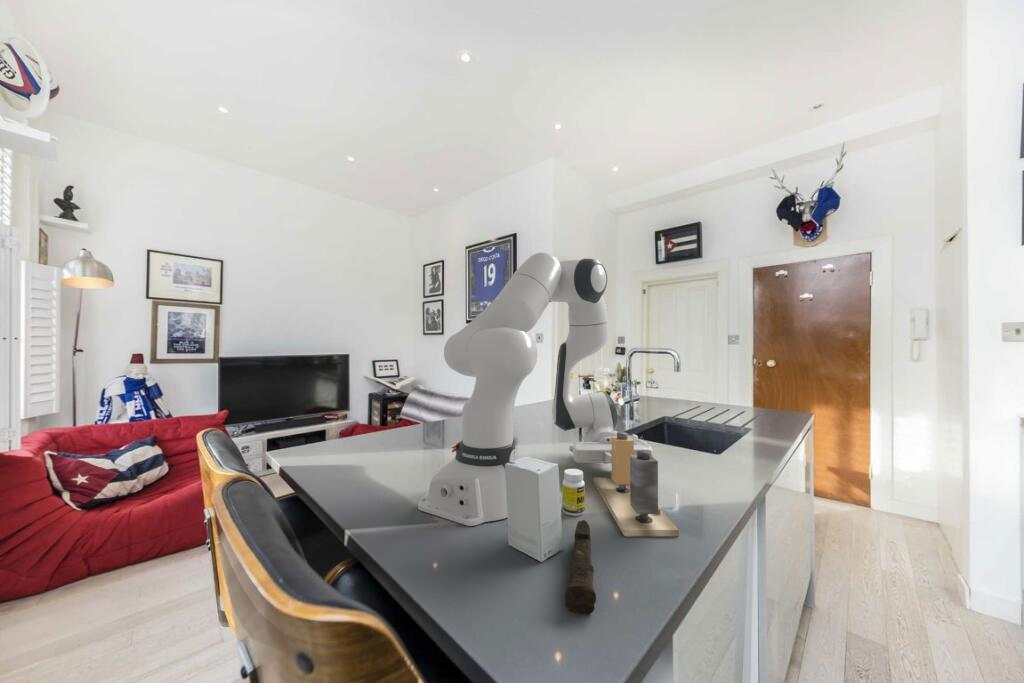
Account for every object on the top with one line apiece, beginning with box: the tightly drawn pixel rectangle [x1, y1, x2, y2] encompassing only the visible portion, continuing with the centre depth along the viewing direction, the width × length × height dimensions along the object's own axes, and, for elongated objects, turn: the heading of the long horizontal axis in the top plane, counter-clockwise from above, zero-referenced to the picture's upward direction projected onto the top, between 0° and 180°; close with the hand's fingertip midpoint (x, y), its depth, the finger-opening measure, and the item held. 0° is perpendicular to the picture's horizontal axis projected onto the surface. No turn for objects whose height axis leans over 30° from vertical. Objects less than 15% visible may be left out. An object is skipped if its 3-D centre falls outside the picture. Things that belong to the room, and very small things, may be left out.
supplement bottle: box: [561, 468, 586, 517], centre depth 78 cm, size 5×5×8 cm
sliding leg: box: [611, 431, 634, 490], centre depth 86 cm, size 4×4×13 cm
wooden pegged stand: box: [593, 450, 680, 537], centre depth 81 cm, size 10×26×14 cm, turn 0°
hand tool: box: [564, 519, 597, 615], centre depth 58 cm, size 19×4×5 cm, turn 165°
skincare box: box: [505, 456, 563, 563], centre depth 65 cm, size 8×6×15 cm
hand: (619, 462), depth 88 cm, fingers closed
